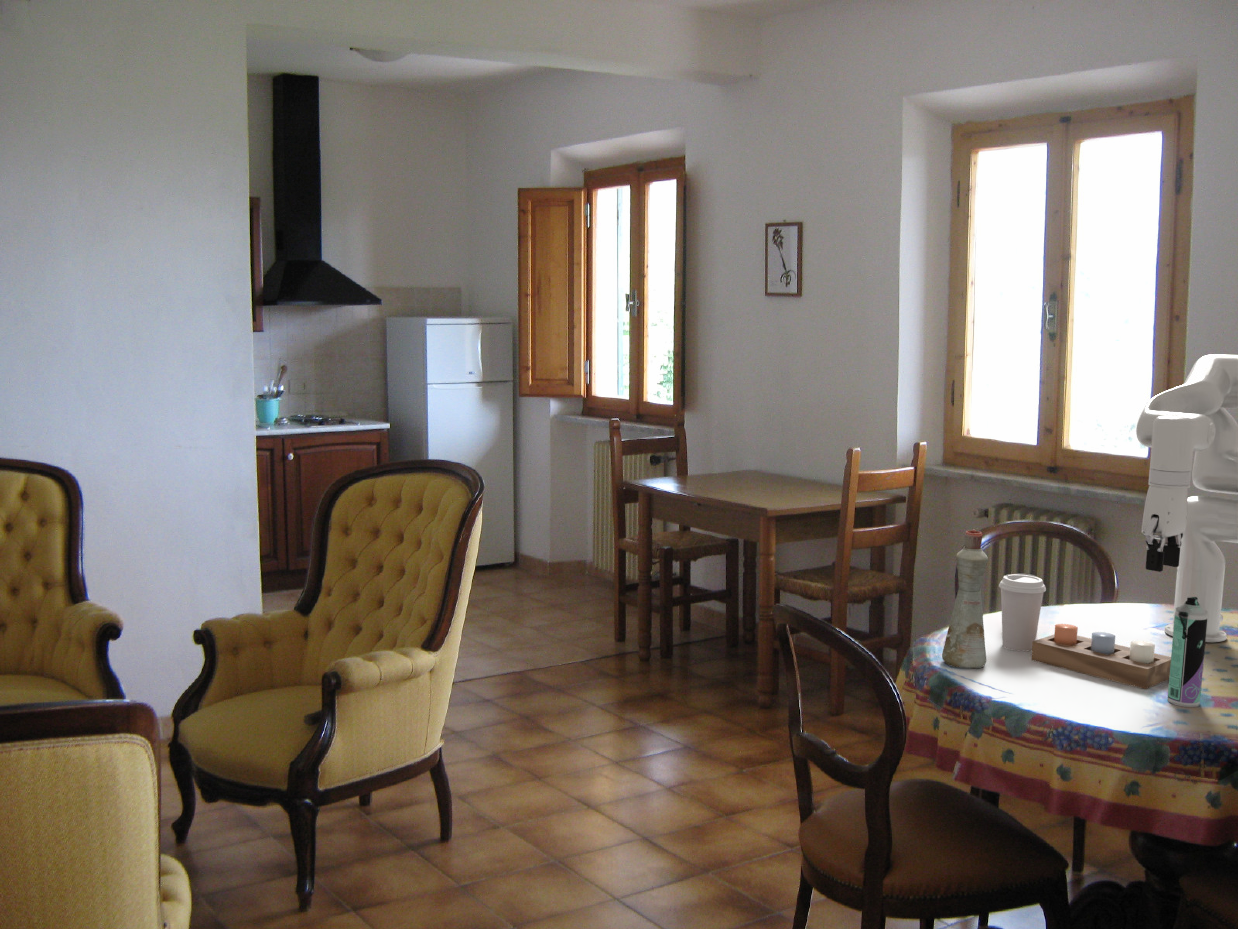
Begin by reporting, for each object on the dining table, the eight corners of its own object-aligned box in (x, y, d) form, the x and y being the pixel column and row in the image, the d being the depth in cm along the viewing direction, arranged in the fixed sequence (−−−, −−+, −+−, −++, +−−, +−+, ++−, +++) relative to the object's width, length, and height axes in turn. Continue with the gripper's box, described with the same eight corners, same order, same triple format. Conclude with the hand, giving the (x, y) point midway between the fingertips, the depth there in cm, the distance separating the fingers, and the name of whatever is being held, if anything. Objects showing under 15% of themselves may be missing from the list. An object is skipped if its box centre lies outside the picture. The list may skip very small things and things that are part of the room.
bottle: (949, 671, 242) (957, 532, 238) (936, 657, 251) (944, 524, 247) (992, 671, 242) (1001, 533, 238) (977, 658, 251) (986, 525, 247)
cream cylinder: (1134, 663, 242) (1136, 639, 242) (1156, 668, 239) (1158, 644, 239) (1124, 667, 240) (1126, 643, 239) (1146, 672, 236) (1148, 648, 236)
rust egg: (1060, 645, 254) (1061, 622, 254) (1080, 649, 251) (1081, 627, 250) (1049, 648, 251) (1051, 626, 251) (1069, 653, 248) (1071, 630, 247)
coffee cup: (1019, 639, 267) (1023, 572, 265) (1051, 650, 258) (1056, 581, 256) (985, 643, 262) (989, 575, 260) (1017, 655, 254) (1022, 585, 252)
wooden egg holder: (1060, 650, 258) (1061, 632, 258) (1173, 677, 241) (1175, 658, 240) (1031, 660, 250) (1032, 641, 250) (1145, 689, 233) (1147, 669, 232)
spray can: (1197, 709, 222) (1207, 602, 219) (1165, 703, 225) (1174, 597, 222) (1201, 701, 226) (1210, 596, 224) (1169, 695, 229) (1178, 592, 227)
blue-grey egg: (1096, 653, 248) (1098, 631, 248) (1117, 658, 245) (1119, 635, 244) (1086, 657, 245) (1087, 634, 245) (1107, 662, 242) (1108, 639, 242)
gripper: (1170, 473, 247) (1162, 559, 249) (1130, 480, 235) (1123, 570, 238) (1207, 477, 241) (1200, 566, 244) (1169, 484, 230) (1161, 577, 232)
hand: (1162, 567), depth 241 cm, fingers open, 6 cm apart
